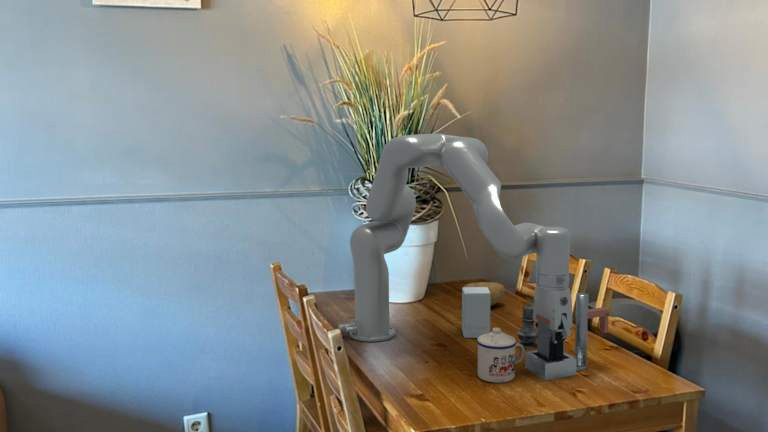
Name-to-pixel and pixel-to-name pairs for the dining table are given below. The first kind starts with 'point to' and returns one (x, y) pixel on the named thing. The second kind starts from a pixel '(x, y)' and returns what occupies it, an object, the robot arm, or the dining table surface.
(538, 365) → the water pump with trough
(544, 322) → the grey tall block
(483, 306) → the supplement box
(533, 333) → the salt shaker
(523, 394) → the dining table surface
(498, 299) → the potato
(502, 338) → the teacup with lid
